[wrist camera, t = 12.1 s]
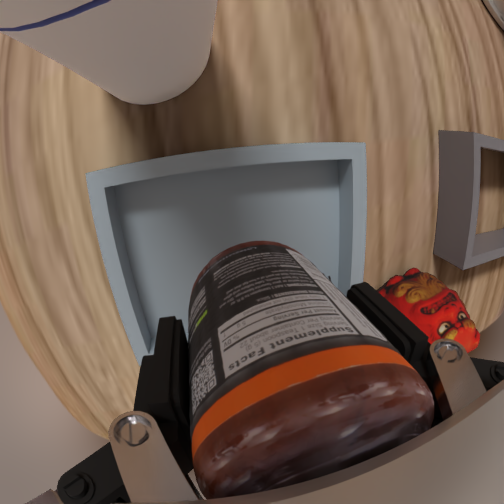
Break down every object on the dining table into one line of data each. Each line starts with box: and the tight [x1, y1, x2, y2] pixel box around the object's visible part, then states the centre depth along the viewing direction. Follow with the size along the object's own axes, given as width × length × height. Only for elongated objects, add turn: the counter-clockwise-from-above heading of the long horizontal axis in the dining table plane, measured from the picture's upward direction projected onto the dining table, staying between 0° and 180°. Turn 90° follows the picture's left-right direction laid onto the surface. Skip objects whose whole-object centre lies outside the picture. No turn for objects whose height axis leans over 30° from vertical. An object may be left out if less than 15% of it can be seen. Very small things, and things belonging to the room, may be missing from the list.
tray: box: [85, 142, 367, 366], centre depth 18 cm, size 16×13×2 cm
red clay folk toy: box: [377, 268, 480, 353], centre depth 16 cm, size 8×7×15 cm
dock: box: [433, 130, 504, 270], centre depth 19 cm, size 15×11×4 cm
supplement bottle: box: [188, 241, 434, 499], centre depth 8 cm, size 6×6×11 cm
